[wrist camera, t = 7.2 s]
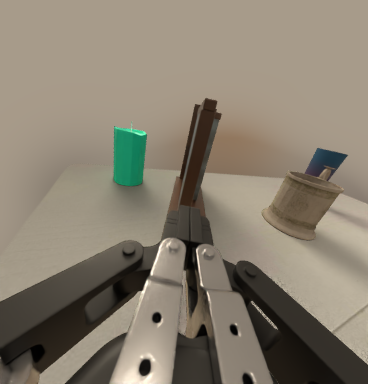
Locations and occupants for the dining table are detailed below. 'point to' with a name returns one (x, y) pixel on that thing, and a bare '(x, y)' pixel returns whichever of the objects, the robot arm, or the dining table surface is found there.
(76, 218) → the dining table surface
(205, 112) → the glass door
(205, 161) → the screen frame
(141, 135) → the candle
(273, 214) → the mug
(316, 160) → the cup
